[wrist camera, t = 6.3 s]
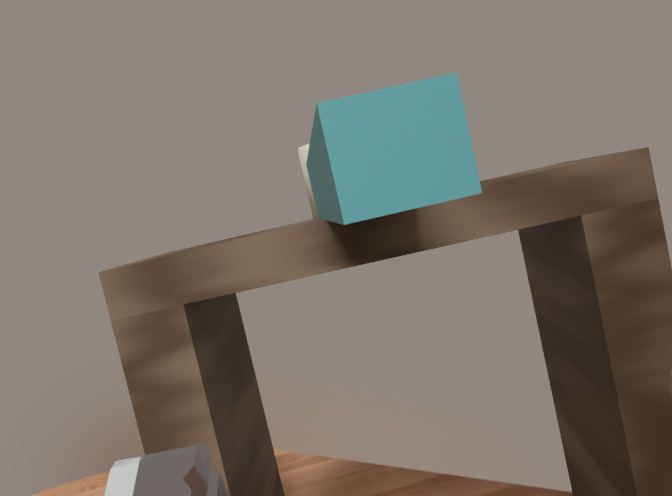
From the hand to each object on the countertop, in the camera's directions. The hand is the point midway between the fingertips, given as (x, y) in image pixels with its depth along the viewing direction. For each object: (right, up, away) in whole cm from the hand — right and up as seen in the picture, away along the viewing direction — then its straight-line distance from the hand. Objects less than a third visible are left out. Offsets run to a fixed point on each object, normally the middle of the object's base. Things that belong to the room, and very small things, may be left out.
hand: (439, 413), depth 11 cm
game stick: (-1, +4, +16) cm, 16 cm away
